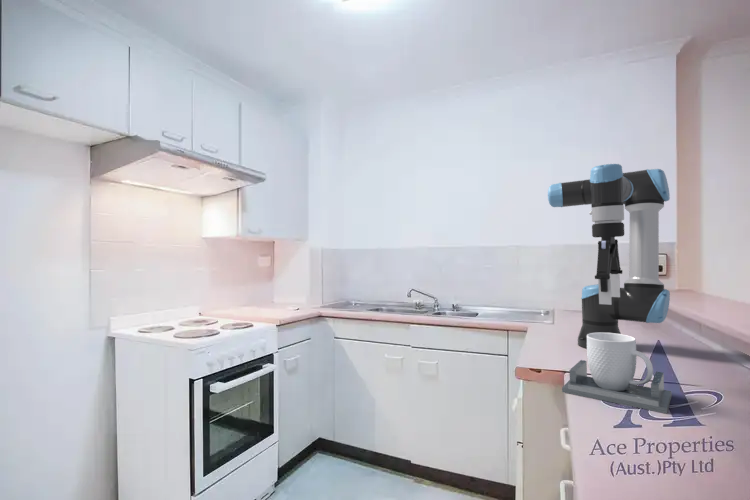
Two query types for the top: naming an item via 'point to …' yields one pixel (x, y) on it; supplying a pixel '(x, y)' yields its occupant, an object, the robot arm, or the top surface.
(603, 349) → the mug
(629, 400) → the dock
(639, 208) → the robot arm
